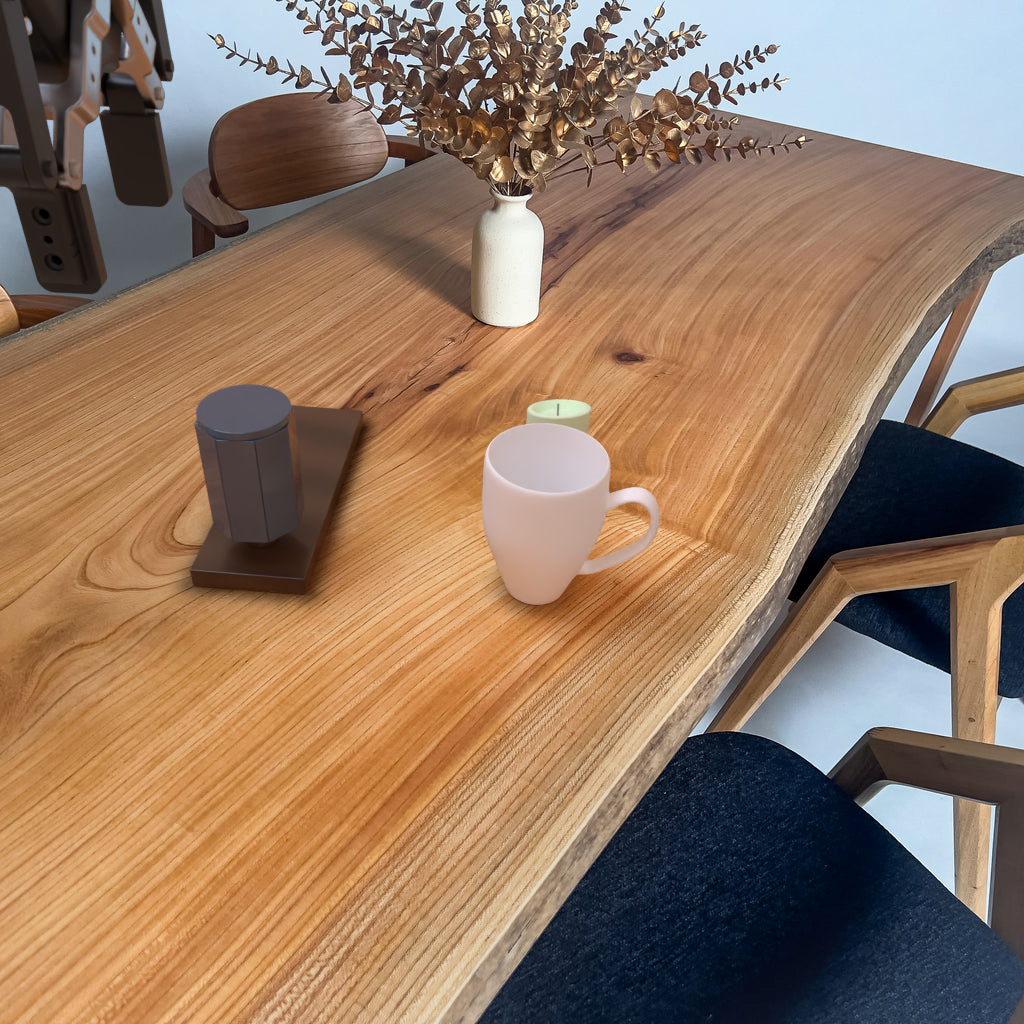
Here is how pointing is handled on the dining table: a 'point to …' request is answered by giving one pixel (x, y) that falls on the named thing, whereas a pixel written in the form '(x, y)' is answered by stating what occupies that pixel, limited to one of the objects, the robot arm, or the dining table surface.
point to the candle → (561, 413)
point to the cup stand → (295, 554)
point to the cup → (250, 462)
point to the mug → (551, 508)
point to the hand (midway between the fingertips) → (114, 242)
